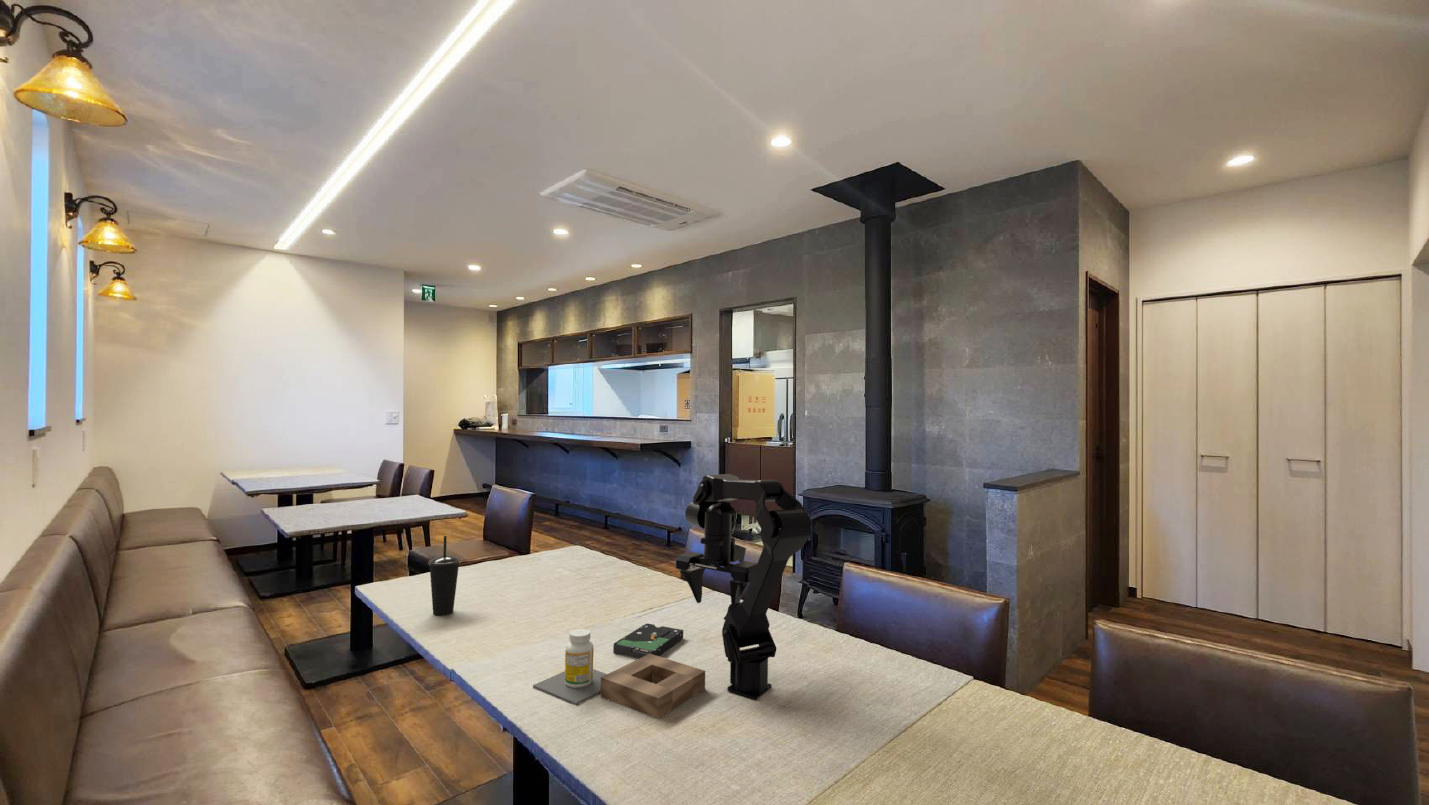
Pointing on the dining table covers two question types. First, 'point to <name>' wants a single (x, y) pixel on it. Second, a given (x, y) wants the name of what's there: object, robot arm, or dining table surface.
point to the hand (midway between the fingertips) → (716, 606)
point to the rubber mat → (570, 688)
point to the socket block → (652, 685)
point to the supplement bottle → (579, 659)
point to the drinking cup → (443, 582)
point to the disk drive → (648, 641)
